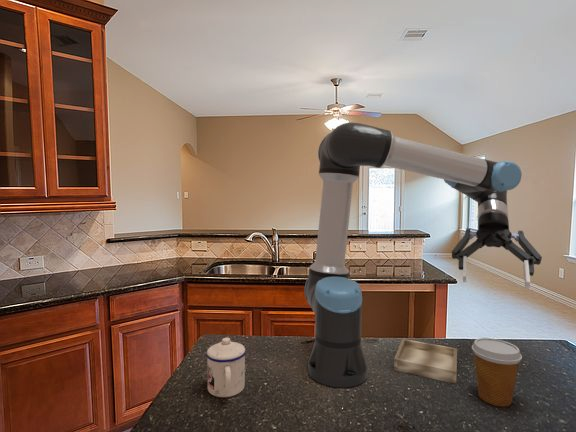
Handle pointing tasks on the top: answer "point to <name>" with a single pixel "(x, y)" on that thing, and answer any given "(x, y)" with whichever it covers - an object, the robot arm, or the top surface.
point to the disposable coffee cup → (496, 370)
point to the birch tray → (427, 360)
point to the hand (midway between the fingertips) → (494, 282)
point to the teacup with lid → (226, 368)
